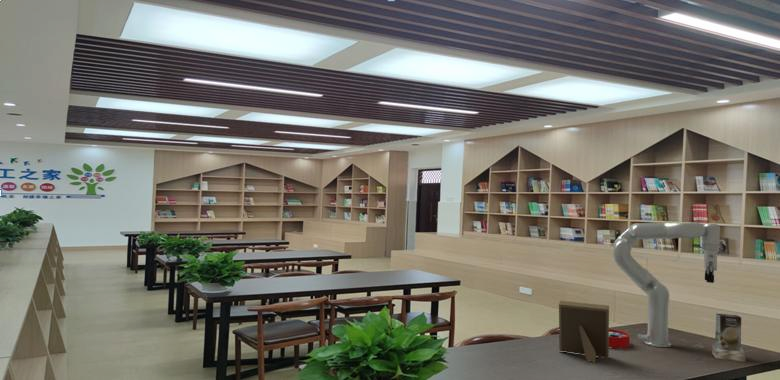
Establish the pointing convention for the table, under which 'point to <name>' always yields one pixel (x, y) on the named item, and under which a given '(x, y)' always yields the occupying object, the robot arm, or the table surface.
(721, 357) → the stand
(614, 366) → the table surface
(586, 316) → the photo frame
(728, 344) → the coffee box
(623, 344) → the toy clock
